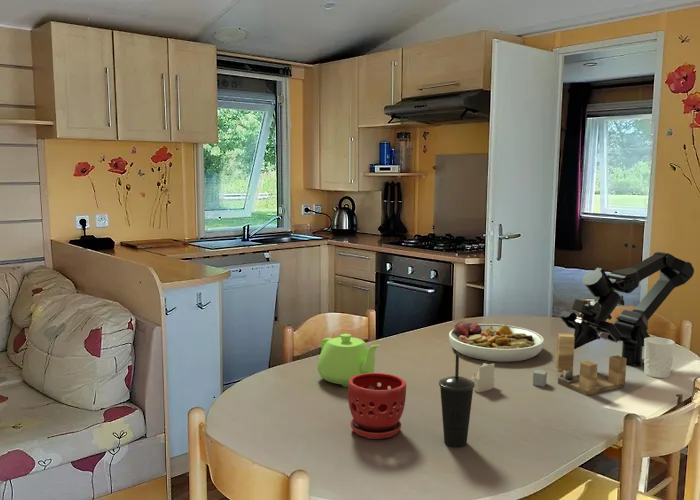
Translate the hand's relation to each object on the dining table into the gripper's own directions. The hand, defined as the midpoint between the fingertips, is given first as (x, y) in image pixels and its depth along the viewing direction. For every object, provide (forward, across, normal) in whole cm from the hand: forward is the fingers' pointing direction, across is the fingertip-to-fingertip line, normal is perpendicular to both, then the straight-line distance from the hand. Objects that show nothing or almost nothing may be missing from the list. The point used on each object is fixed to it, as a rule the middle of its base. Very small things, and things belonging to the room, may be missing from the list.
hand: (572, 348), depth 180 cm
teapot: (+48, -24, -36) cm, 65 cm away
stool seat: (+7, +9, +4) cm, 12 cm away
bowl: (+9, -29, +3) cm, 30 cm away
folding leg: (+8, +3, +1) cm, 8 cm away
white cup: (-10, +11, +21) cm, 26 cm away
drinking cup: (+46, +22, -34) cm, 61 cm away
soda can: (-22, -31, +33) cm, 51 cm away
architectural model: (+28, -1, -15) cm, 32 cm away
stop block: (+16, +2, -4) cm, 16 cm away
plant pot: (+55, +9, -43) cm, 70 cm away
